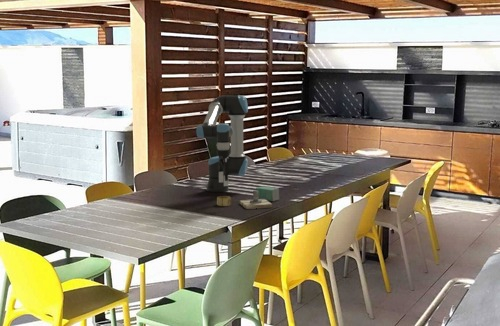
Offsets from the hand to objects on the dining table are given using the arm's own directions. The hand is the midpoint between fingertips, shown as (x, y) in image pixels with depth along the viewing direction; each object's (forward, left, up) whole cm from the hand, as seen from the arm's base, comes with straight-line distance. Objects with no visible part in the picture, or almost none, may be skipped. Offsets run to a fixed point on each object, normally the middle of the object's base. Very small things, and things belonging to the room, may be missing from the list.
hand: (223, 184), depth 363 cm
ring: (0, 0, -13) cm, 13 cm away
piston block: (+8, +18, -13) cm, 23 cm away
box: (-8, +30, -13) cm, 34 cm away
